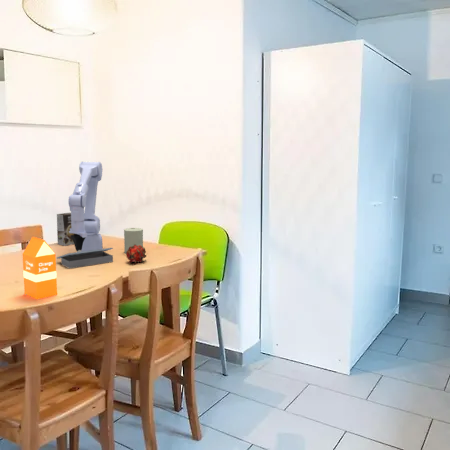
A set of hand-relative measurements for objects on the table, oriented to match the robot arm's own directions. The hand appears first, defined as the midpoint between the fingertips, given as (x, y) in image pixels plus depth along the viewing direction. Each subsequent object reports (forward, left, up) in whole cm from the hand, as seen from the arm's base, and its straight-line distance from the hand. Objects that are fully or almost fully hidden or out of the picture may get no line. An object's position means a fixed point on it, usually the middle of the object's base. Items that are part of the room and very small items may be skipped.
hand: (78, 250), depth 223 cm
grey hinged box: (0, +9, -4) cm, 10 cm away
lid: (0, +7, 0) cm, 6 cm away
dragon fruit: (-18, +20, -4) cm, 27 cm away
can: (-27, +2, -4) cm, 27 cm away
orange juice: (+32, +42, -4) cm, 53 cm away
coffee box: (-10, -37, -4) cm, 38 cm away
